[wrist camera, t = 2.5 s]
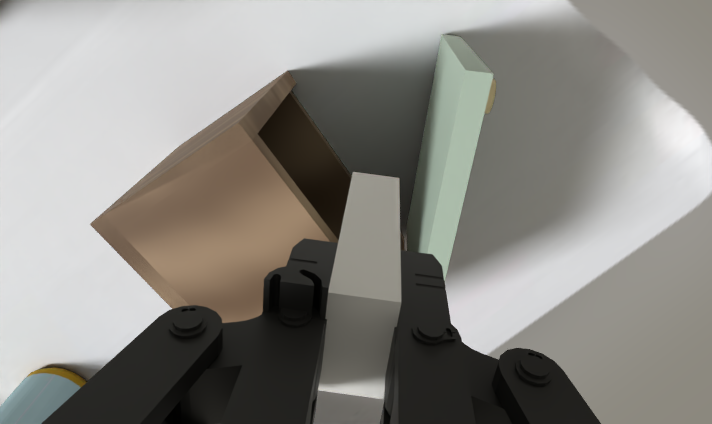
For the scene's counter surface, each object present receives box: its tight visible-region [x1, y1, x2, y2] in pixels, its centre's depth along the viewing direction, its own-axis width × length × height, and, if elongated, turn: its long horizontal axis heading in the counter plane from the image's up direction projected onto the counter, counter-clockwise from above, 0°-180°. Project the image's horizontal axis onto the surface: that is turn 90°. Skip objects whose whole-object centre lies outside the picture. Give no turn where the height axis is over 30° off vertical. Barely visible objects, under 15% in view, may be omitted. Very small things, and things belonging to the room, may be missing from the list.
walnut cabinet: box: [90, 71, 405, 323], centre depth 32 cm, size 15×10×12 cm, turn 34°
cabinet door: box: [406, 34, 496, 282], centre depth 30 cm, size 15×2×12 cm, turn 173°
